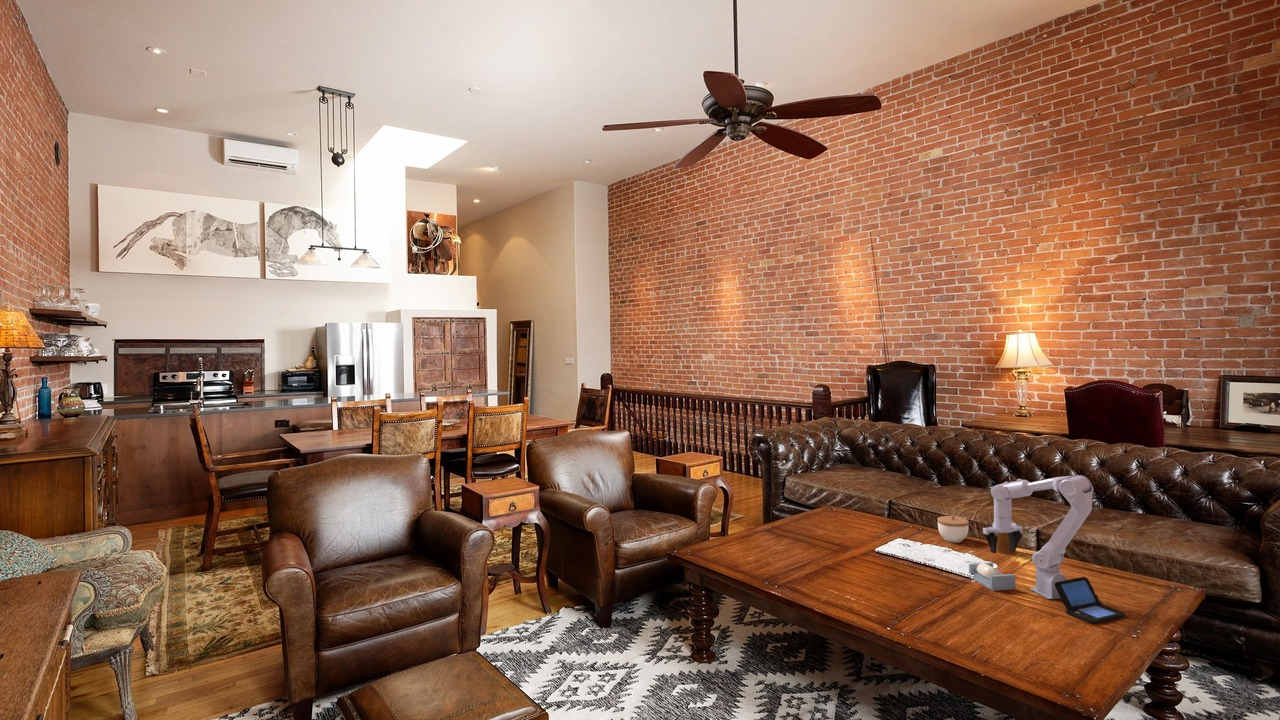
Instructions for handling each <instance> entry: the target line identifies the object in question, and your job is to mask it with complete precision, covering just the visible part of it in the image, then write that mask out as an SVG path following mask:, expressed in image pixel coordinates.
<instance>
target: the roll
mask: <svg viewBox="0 0 1280 720" xmlns="http://www.w3.org/2000/svg"><path fill="white" fill-rule="evenodd" d="M980 563H981V564H979V565H978V566H977V573H978V574H979V575H980V576H982V577H984V578H986V579H987V580H989V581H990V575H998V574H1003V572H1002V571H1000V570H998V569H997V568H994V566H993V567H991V566H989V565H988V564H986V563H987V562H980Z"/></svg>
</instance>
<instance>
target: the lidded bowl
mask: <svg viewBox="0 0 1280 720" xmlns="http://www.w3.org/2000/svg"><path fill="white" fill-rule="evenodd" d="M969 523H970V522H969V519H966V518H963V517H960V516H955V514H954V515H953V514H952V515H943V516H942V515H941V516H939V517H937V528H938V532H939V534H940V535H941V537H942V538H943V540H944V541H946V542H950V543H961V542H963V540H965V539H966V538H967V536H968V534H969Z"/></svg>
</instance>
